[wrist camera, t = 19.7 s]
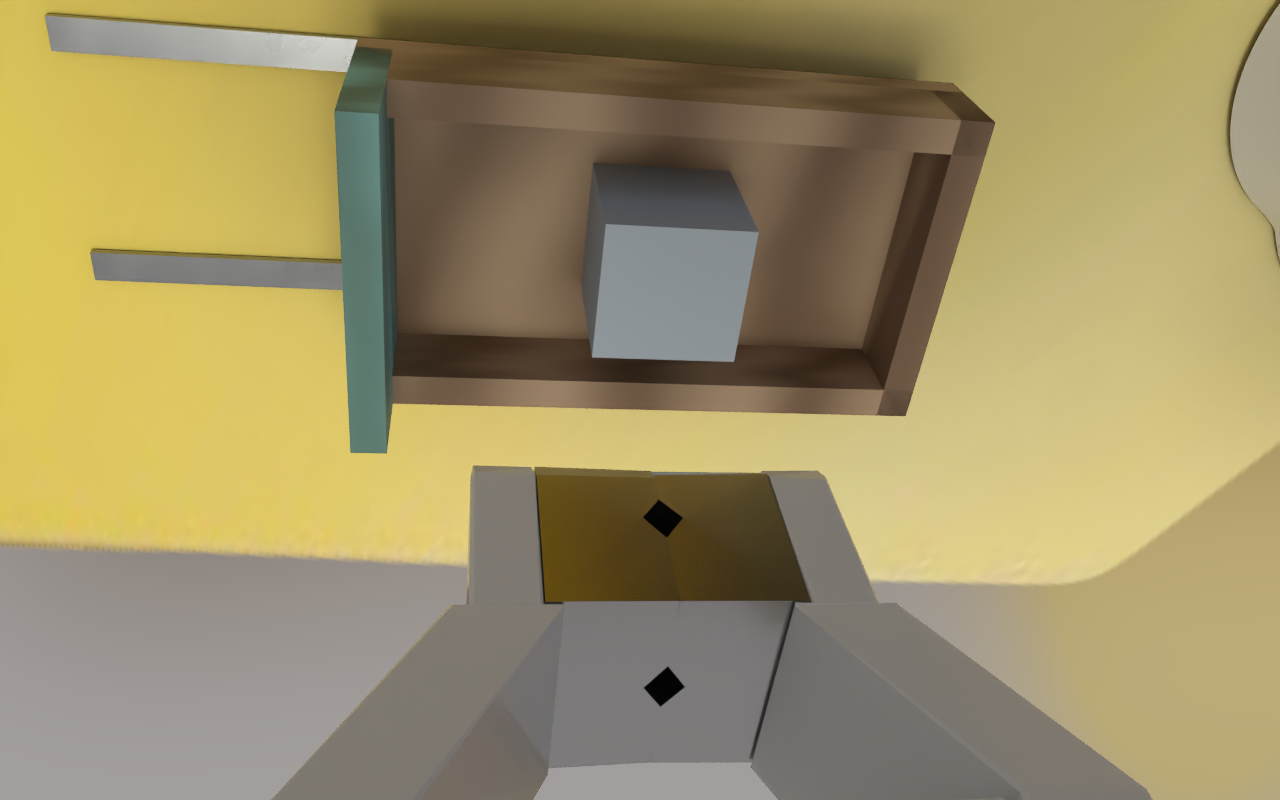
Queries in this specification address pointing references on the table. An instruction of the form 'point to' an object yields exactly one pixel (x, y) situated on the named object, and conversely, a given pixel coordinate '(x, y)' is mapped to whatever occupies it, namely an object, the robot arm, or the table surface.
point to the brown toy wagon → (558, 213)
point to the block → (666, 263)
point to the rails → (214, 48)
